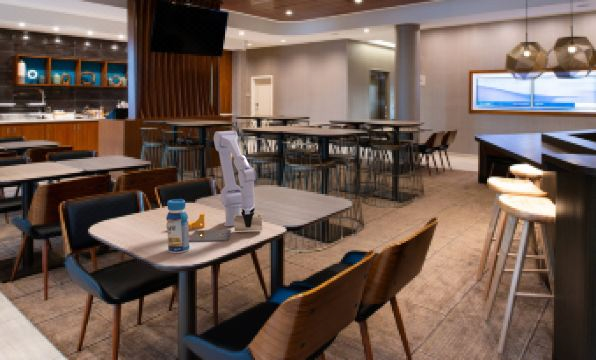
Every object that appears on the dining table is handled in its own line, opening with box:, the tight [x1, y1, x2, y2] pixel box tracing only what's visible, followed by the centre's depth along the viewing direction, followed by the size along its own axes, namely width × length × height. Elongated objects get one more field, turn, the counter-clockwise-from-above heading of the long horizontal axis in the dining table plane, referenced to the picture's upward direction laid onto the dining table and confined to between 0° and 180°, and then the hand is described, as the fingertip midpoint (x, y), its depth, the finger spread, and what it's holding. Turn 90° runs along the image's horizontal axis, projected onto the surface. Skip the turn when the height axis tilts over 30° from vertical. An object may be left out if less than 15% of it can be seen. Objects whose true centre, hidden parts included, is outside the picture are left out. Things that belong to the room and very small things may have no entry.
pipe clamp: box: [187, 212, 206, 230], centre depth 205 cm, size 12×4×6 cm, turn 95°
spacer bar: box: [233, 214, 263, 232], centre depth 198 cm, size 4×12×6 cm, turn 94°
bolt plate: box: [189, 229, 232, 243], centre depth 193 cm, size 14×16×1 cm
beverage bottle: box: [165, 198, 191, 254], centre depth 174 cm, size 8×8×20 cm
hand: (248, 225), depth 198 cm, fingers closed on spacer bar, 4 cm apart
